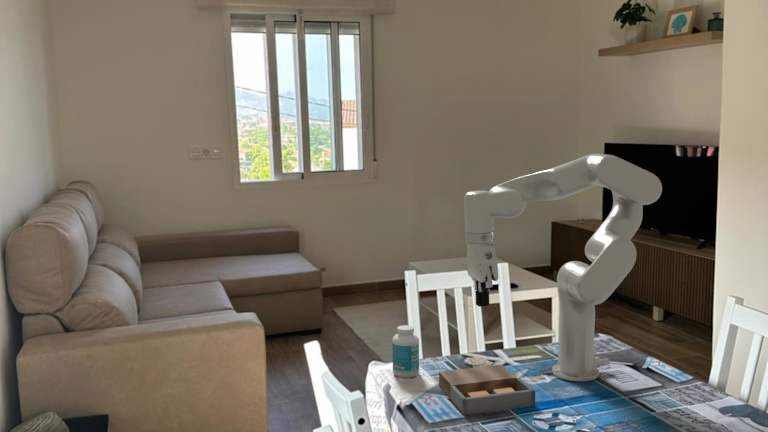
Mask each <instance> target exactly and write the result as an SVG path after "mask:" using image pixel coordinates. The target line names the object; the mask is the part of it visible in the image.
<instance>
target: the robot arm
mask: <svg viewBox="0 0 768 432" xmlns="http://www.w3.org/2000/svg"><path fill="white" fill-rule="evenodd" d="M597 186H598V187H601V188H606V189H608V190H610V191H611V194H612V200H613V201H612V207H611V210H610V211H609V214H608V215H607V217H606V218H605V220H604V221H603V222H602V224H600V226H599V227H597V229H596V230H595V232H594V233H593V234H592V236H591V237H590V238H589V239H588V240H587V241H586V244H585V246H584V255H585V256H586V258H587V259H588V261H590V262H592V263H591V264H588V263H585V262H582V261H580V260H579V261H578V260H571V261H568V262H566V263H564V264H563V265H562V266H561V267H560V268H559V269H558V272H557V276H556V287H557V288H556V289H557V294H558V308H559V309H558V312H559V313H558V345H557V346H558V348H557V350H558V353H557V357H558V358H557V363H556V364H554V365H552V368H551V369H552V372H551V373H552V374H553V375H554V376H555V377H557V378H560V379H561V380H562V379H563V380H565V381H571V382H579V383H580V382H582V383H583V382H591V381H594V380H596V379H598V378H599V376H600V370H599V369H598V368H600V367H601V366H602V367H604V366H606V367H607V366H610V363H611V362H610V359H609V358H608V357H606V358H600V356H595V329H596V328H595V326H596V324H595V321H596V308H595V306H596V305H600V304H602V303H604V302H605V301H607V300H608V298H609V297H610V296H611V295H612V294H613V293H614V292H615V290H616V289H617V288H618V287H619V286H620V284H621V283H622V282H623V281H624V279H625V278H626V277H627V275H628V274H629V273H630V272H631V270H632V269H633V267H634V265H635V264H636V260H637V248H636V246H635V243H633V241H632V238H633V237H634V235H636V233H637V231H638V230H639V228H640V226H641V225H642V221H643V216H644V215H643V213H644V211H643V209H644V208H643V207H644V206H646V205H647V206H648V205H651V204H653V203H655V202H657V201H658V199H660V197H661V195H662V193H663V185H662V182H661V180H660V179H659V177H658V176H657V175H656V174H654V173H652V172H650V171H648V170H646V169H643V168H642V167H639V166H638V165H636V164H633V163H631V162H629V161H627V160H625V159H622V158H620V157H619V156H616V155H613V154H606V153H605V154H604V153H591V154H587V155H584V156H581V157H579V158H576V159H574V160H571V161H568V162H566V163H563V164H560V165H557V166H554V167H551V168H548V169H545V170H541V171H537V172H534V173H531V174H527V175H526V174H525V175H522V176H519V177H516V178H513V179H510V180H508V181H505V182H502V183H499V184H497V185H495V186H493V187H492V188H490V189H489V190H471V191H468V192H466V193H465V194H464V196H463V203H464V204H463V207H464V225H465V226H464V229H465V245H467V246H466V270H467V275H468V276H469V277H470V278H471V280H472V281H473V285H474V286H473V287H474V290H475V305H476V306H478V307H480V308H481V307H487V306H490V288H493V286H494V285H493V281H495V282H497V281H498V280H499V269H498V259H497V258H498V257H497V252H496V251H497V250H496V246H495V244H496V243H495V218H502V219H513V218H516V217H518V216H521V214H522V213H523V212H524V211H525V209H526V205H527V203H532V202H537V201H538V202H539V201H557V200H562V199H565V198H567V197H570V196H572V195H575V194H578V193H581V192H583V191H586V190H589V189H591V188H594V187H597ZM594 356H595V357H594Z"/></svg>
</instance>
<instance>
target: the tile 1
mask: <svg viewBox="0 0 768 432" xmlns="http://www.w3.org/2000/svg"><path fill="white" fill-rule="evenodd" d="M483 395H490V394H489V393H488V392H487V391H478V392H470V393H467V397H475V396H483Z"/></svg>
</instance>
